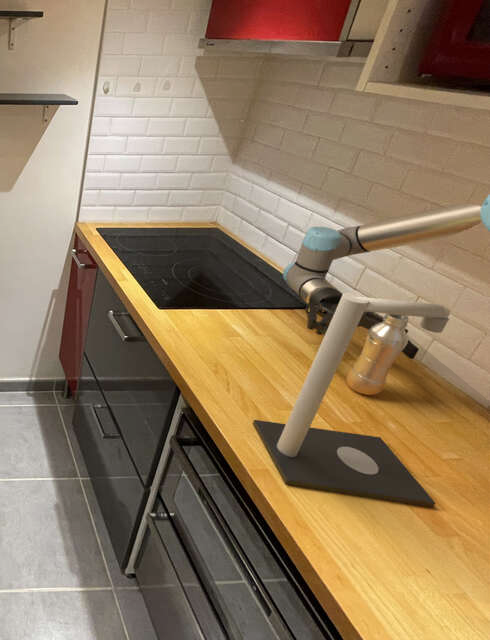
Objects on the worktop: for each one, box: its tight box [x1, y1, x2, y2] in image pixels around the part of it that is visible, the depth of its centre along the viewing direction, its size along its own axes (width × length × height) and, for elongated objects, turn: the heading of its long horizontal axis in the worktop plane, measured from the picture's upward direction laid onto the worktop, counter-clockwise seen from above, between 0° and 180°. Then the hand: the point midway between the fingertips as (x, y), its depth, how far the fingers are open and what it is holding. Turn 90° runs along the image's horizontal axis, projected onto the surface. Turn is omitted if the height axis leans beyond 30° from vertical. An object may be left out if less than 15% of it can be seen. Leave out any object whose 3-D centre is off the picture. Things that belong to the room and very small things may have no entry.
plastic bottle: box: [345, 313, 410, 396], centre depth 98 cm, size 6×7×20 cm
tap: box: [252, 292, 451, 509], centre depth 77 cm, size 23×14×35 cm, turn 80°
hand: (378, 349), depth 98 cm, fingers open, 13 cm apart
